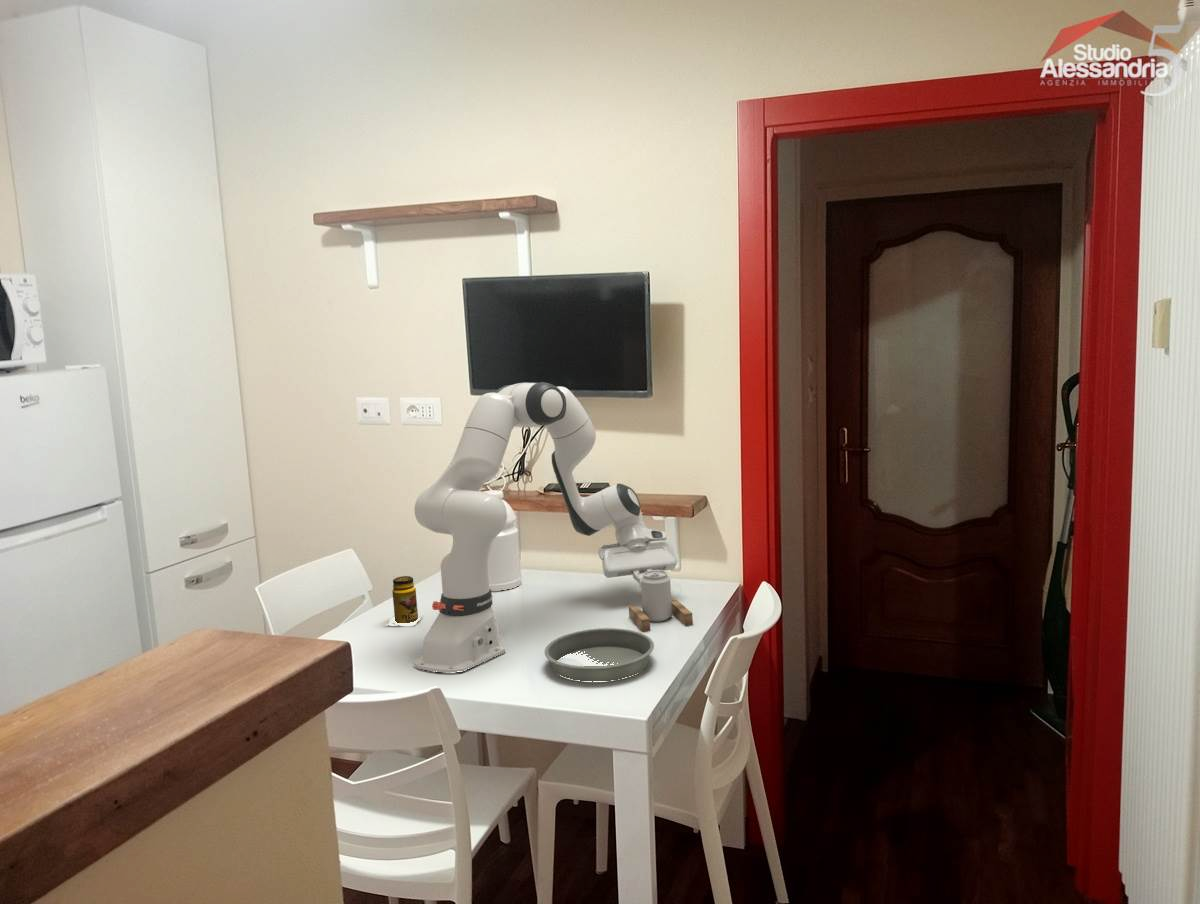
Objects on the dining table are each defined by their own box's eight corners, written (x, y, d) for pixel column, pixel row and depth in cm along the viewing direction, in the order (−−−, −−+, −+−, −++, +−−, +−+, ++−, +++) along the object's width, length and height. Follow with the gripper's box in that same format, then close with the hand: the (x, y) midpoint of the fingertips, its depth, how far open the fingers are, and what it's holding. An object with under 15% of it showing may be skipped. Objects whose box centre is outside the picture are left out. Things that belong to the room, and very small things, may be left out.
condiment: (415, 626, 246) (411, 581, 244) (383, 627, 247) (379, 582, 245) (423, 617, 253) (419, 573, 251) (392, 618, 254) (388, 574, 252)
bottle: (508, 575, 288) (502, 485, 284) (530, 585, 277) (524, 491, 272) (466, 585, 281) (459, 492, 276) (487, 595, 269) (480, 499, 265)
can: (640, 622, 239) (637, 576, 237) (645, 613, 246) (643, 568, 244) (669, 623, 237) (667, 577, 235) (674, 613, 244) (672, 568, 242)
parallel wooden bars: (629, 617, 243) (628, 605, 243) (677, 610, 246) (676, 599, 246) (642, 631, 232) (642, 620, 231) (692, 624, 235) (692, 613, 234)
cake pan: (571, 642, 228) (570, 624, 228) (668, 650, 219) (667, 631, 219) (527, 681, 206) (525, 661, 205) (633, 692, 197) (632, 671, 196)
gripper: (598, 540, 252) (609, 585, 244) (671, 531, 257) (684, 575, 249) (595, 552, 257) (606, 597, 249) (666, 543, 262) (679, 587, 254)
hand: (646, 586), depth 249 cm, fingers closed
